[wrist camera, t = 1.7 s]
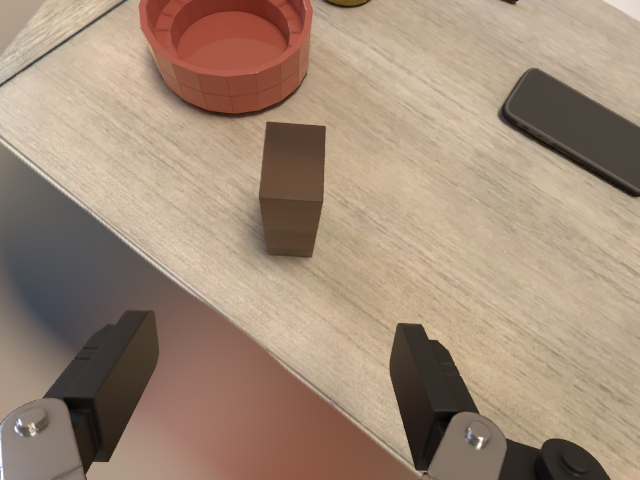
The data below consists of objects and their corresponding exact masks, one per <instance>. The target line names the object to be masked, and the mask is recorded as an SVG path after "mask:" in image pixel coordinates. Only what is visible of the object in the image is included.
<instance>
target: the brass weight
mask: <svg viewBox="0 0 640 480" xmlns="http://www.w3.org/2000/svg"><path fill="white" fill-rule="evenodd" d="M327 1H329V2H331V3H334V4H337V5H343V6H354V5H359V4H362V3H365V2H366V1H368V0H327Z"/></svg>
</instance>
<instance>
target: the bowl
mask: <svg viewBox="0 0 640 480" xmlns="http://www.w3.org/2000/svg"><path fill="white" fill-rule="evenodd" d="M138 9H139V19H140V28H141V30H142V33H143V35H144V38H145V40H146V42H147V45H148V47H149V50H150V52H151V54H152V57H153V59H154V61H155V64H156V66H157V69H158V71H159V72H160V74H161V76H162V78H163V79H164V81H165V83H166V84H167V86H168V87H169V88H170V89H171V90H172V91H174V92H175V93H176V94H177V95H178V96H180V97H181V98H182V99H183V100H185V101H186V102H189V103H191V104H194V105H196V106H198V107H201V108H203V109H206V110H209V111H216V112H225V113H243V112H250V111H258V110H261V109H264V108H266V107H268V106H271V105H273V104H275V103H278V102H280V101H282V100H283V99H284V98H285V97H287V96H288V95H289V94H290V93H291V92H293V91H294V90H295V89H296V88H297V87H298V86H299V84H300V83H301V81H302V79H303V77H304V76H305V74H306V72H307V70H308V65H309V57H310V46H311V32H312V17H313V10H312V7H311V4H310V0H141V1H140V4H139V7H138Z"/></svg>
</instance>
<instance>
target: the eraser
mask: <svg viewBox="0 0 640 480" xmlns="http://www.w3.org/2000/svg"><path fill="white" fill-rule="evenodd" d="M325 131H326V127H325V126H316V125H304V124H291V123H278V122H266V131H265V141H264V151H263V161H262V171H261V181H260V191H259V201H260V208H261V214H262V221H263V227H264V233H265V240H266V246H267V253H268V255H285V256H302V257H312V254H313V249H314V244H315V239H316V234H317V229H318V224H319V219H320V215H321V210H322V205H323V191H324V161H325Z"/></svg>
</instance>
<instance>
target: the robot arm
mask: <svg viewBox="0 0 640 480" xmlns="http://www.w3.org/2000/svg"><path fill="white" fill-rule="evenodd" d="M158 356H159V345H158V336H157V328H156V320H155V314H154V312H153V311H152V310H133V309H128V310H126V311H125V313H124V314H123V315H122V316H121V318H120V319H119V321H118V322H117V323H116V325H110V324H108V325H106V326H105V327H103V328H102V329H101V330H99V331H97V332H96V333H94V334H93V335H92V336H91V337H90V339H89V340H88V341H87V342H86V344H85V345H84V346H83V349H82V350H80V351H79V353H78V354H77V355H76V356H75V359H74V360H72V361H71V363H70V364H69V365H68V366H67V368H66V369H65V370H64V372H63V373H62V374H61V375H60V377H59V378H58V379H57V380H56V382H55V383H54V384H53V385H52V387H51V388H50V389H49V390H48V392H47V393H46V394H45V395H44V397H43V398H42V399H38V400H35V401H31V402H29V403H26V404H24V405H22V406H21V407H18V408H17V409H15V410H14V411H12V412H11V413H10V414H9V415H8V416H6V417H5V418H4V419H3V421H2V422H1V423H0V480H87V478H86V473H87V471H88V469H89V468H90V466H91V464H92V462H109V460H110V458H111V456H112V454H113V452H114V450H115V448H116V446H117V444H118V442H119V440H120V438H121V436H122V434H123V432H124V430H125V428H126V425H127V424H128V422H129V420H130V418H131V416H132V414H133V412H134V409H135V408H136V406H137V404H138V402H139V400H140V398H141V395H142V393H143V391H144V390H145V387H146V385H147V384H148V381H149V380H150V378H151V375H152V373H153V372H154V370H155V367H156V364H157V361H158ZM390 377H391V381H392V384H393V388H394V392H395V395H396V399H397V403H398V406H399V410H400V414H401V418H402V421H403V425H404V429H405V432H406V436H407V440H408V443H409V447H410V451H411V454H412V458H413V462H414V466H415V469H416V470H423V471H427V472H426V473H425V472H424V473H423V475H422V477H421V479H420V480H611V479H610V478H609V476H608V475H607V473H606V472H605V470H604V469H603V468H602V466H601V465H600V463H599V462H598V461H597V460H596V459H595V458H594V457H593V456H592V455H591V454H590V453H589V452H587V451H586V450H585V449H583V448H582V447H580V446H578V445H576V444H574V443H572V442H570V441H567V440H563V439H549V440H547V441H545V442H544V444H543V445H542V447H541V449H537V448H534V447H531V446H527V445H524V444H521V443H518V442H514V441H512V440H509V439H507V438H505V436H504V434H503V433H502V431H501V430H500V429H499V427H498V426H497V425H496V424H495V423H493V422H492V421H491V420H489V419H488V418H486V417H484V416H482V415H480V413H479V411H478V409H477V407H476V405H475V403H474V401H473V399H472V397H471V395H470V393H469V391H468V389H467V387H466V385H465V383H464V381H463V379H462V377H461V376H460V373H459V371H458V369H457V367H456V366H455V363H454V361H453V359H452V357H451V355H450V353H449V351H448V350H447V349H446V348H445V347H444V346H443V345H442V344H441V343H439V342H438V341H437V340H429V339H428V337H427V334H426V332H425V330H424V328H423V326H422V325H421V324H409V323H398V325H397V328H396V332H395V337H394V342H393V347H392V352H391V357H390Z"/></svg>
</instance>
